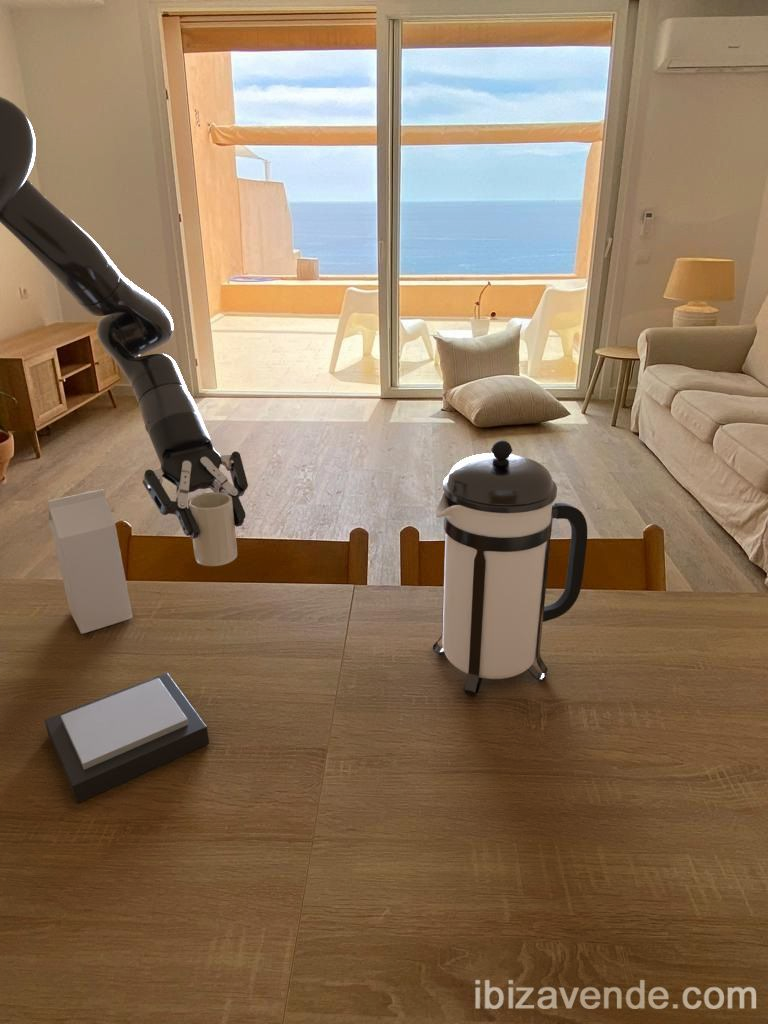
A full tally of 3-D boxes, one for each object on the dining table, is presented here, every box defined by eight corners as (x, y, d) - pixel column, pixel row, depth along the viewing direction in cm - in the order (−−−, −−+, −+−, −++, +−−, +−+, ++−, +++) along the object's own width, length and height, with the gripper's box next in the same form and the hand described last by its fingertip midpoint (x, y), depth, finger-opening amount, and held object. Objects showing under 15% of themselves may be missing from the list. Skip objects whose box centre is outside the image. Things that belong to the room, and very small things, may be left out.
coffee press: (533, 719, 79) (557, 475, 67) (410, 677, 87) (411, 449, 74) (575, 643, 93) (602, 428, 81) (466, 612, 100) (475, 410, 88)
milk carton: (133, 619, 100) (110, 497, 92) (81, 635, 96) (53, 510, 88) (119, 598, 105) (97, 481, 97) (70, 612, 101) (42, 492, 94)
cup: (205, 570, 93) (198, 512, 90) (188, 554, 97) (181, 498, 94) (244, 558, 96) (239, 502, 93) (226, 543, 101) (221, 489, 97)
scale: (77, 804, 69) (70, 779, 68) (48, 736, 78) (42, 713, 77) (209, 743, 76) (206, 720, 75) (170, 688, 85) (166, 666, 84)
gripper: (126, 419, 91) (171, 533, 87) (228, 402, 98) (274, 505, 94) (120, 447, 97) (162, 555, 93) (216, 429, 105) (259, 527, 101)
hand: (218, 529), depth 94 cm, fingers closed on cup, 6 cm apart
